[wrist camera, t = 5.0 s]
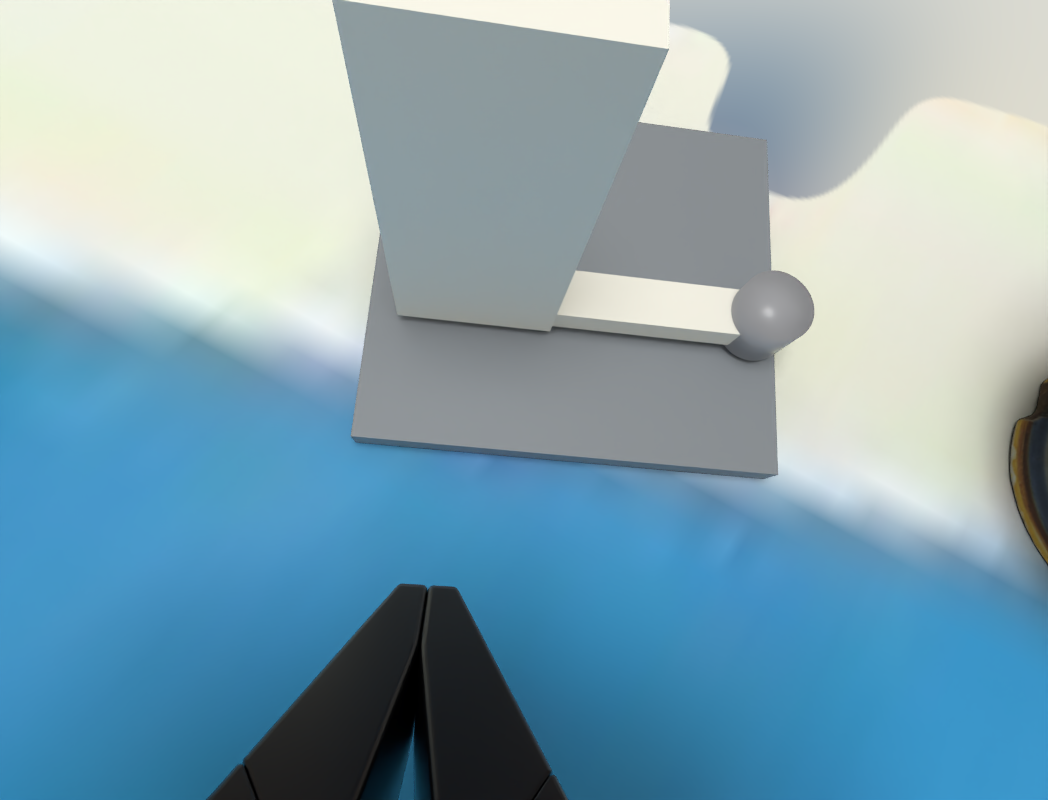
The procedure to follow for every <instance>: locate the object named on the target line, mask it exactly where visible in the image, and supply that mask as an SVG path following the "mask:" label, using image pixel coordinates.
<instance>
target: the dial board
mask: <svg viewBox="0 0 1048 800" xmlns="http://www.w3.org/2000/svg"><path fill="white" fill-rule="evenodd" d="M767 161H768V160H767V140H763V139H756V138H749V137H741V136H734V135H727V134H720V133H713V132H706V131H698V130H691V129H684V128H677V127H670V126H662V125H655V124H648V123H641V122H638V124H637V126H636V128H635V131H634V133H633V135H632V138H631V140H630V143H629V145H628V147H627V150H626V152H625V154H624V157H623V159H622V162H621V164H620V166H619V169H618V171H617V173H616V176H615V178H614V181H613V183H612V185H611V188H610V190H609V192H608V195H607V197H606V200H605V202H604V204H603V207H602V209H601V211H600V214H599V216H598V219H597V221H596V223H595V226H594V228H593V230H592V233H591V235H590V238H589V240H588V242H587V245H586V247H585V249H584V252H583V254H582V257H581V259H580V261H579V264H578V266H577V268H576V271H585V272H594V273H602V274H611V275H619V276H628V277H636V278H645V279H654V280H662V281H671V282H679V283H688V284H697V285H705V286H714V287H722V288H731V289H739V290H740V289H741V288H742V287H743V286H744V285H745V284H746V283H747V282H748V281H749V280H750V279H751V278H752V277H754V276H755V275H757V274H759V273H761V272H765V271H771V250H770V220H769V190H768V162H767ZM351 437H352V438H353V440H354V441H355V442H359V443H370V444H381V445H392V446H404V447H415V448H426V449H437V450H448V451H459V452H471V453H482V454H493V455H504V456H515V457H526V458H538V459H549V460H560V461H571V462H582V463H593V464H605V465H616V466H627V467H638V468H649V469H660V470H672V471H683V472H694V473H705V474H716V475H727V476H739V477H750V478H761V479H765V478H768V477H772V476H775V475H778V461H777V431H776V401H775V371H774V354H773V355H772V356H770V357H768V358H766V359H764V360H759V361H749V360H745V359H742V358H739V357H737V356H735V355H734V354H732V353H731V352H730V351H729V350H728V349H727V348H726V347H725V346H724V345H723V344H713V343H704V342H695V341H686V340H677V339H667V338H658V337H649V336H640V335H630V334H621V333H612V332H603V331H593V330H584V329H575V328H566V327H557V326H552V328H551V330H550V331H541V330H532V329H522V328H513V327H504V326H494V325H485V324H476V323H467V322H457V321H448V320H439V319H429V318H420V317H411V316H401V315H397V311H396V306H395V301H394V297H393V292H392V287H391V282H390V277H389V272H388V268H387V263H386V258H385V253H384V248H383V243H382V238H381V234H380V237H379V244H378V251H377V258H376V265H375V272H374V279H373V286H372V293H371V300H370V306H369V313H368V320H367V327H366V334H365V341H364V348H363V355H362V362H361V369H360V376H359V383H358V390H357V397H356V404H355V410H354V417H353V424H352V431H351Z"/></svg>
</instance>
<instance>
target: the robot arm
mask: <svg viewBox="0 0 1048 800" xmlns="http://www.w3.org/2000/svg"><path fill="white" fill-rule="evenodd" d="M414 722H415V726H414ZM413 729H414V753H413V758H414V800H568V798H567V797H566V795H565V793H564V791H563V789H562V787H561V785H560V783H559V781H558V779H557V777H556V776H555V775H552V769H551V767H550V766H549V764H548V762H547V760H546V758H545V756H544V754H543V752H542V750H541V748H540V746H539V744H538V742H537V741H536V739H535V737H534V735H533V733H532V731H531V729H530V727H529V725H528V723H527V721H526V719H525V717H524V716H523V714H522V712H521V710H520V708H519V706H518V704H517V702H516V700H515V698H514V696H513V694H512V692H511V691H510V689H509V687H508V685H507V683H506V681H505V679H504V677H503V675H502V673H501V671H500V669H499V667H498V666H497V664H496V662H495V660H494V658H493V656H492V654H491V652H490V650H489V648H488V646H487V644H486V642H485V641H484V639H483V637H482V635H481V633H480V631H479V629H478V627H477V625H476V623H475V621H474V619H473V617H472V616H471V614H470V612H469V610H468V608H467V606H466V604H465V602H464V600H463V598H462V596H461V594H460V593H459V591H458V590H457V588H455V587H448V586H431V587H429V589H428V592H427V587H426V586H425V585H416V584H400V585H398V586H397V587H396V588H395V589H394V590H393V591H392V592H391V593H390V595H389V596H388V597H387V598H386V599H385V600H384V601H383V602H382V604H381V605H380V606H379V607H378V608H377V609H376V610H375V612H374V613H373V614H372V615H371V616H370V617H369V618H368V619H367V621H366V622H365V623H364V624H363V625H362V626H361V627H360V628H359V630H358V631H357V632H356V633H355V634H354V635H353V636H352V637H351V639H350V640H349V641H348V642H347V643H346V644H345V645H344V646H343V648H342V649H341V650H340V651H339V652H338V653H337V654H336V655H335V657H334V658H333V659H332V660H331V661H330V662H329V663H328V664H327V666H326V667H325V668H324V669H323V670H322V671H321V672H320V674H319V675H318V676H317V677H316V678H315V679H314V680H313V681H312V683H311V684H310V685H309V686H308V687H307V688H306V689H305V690H304V692H303V693H302V694H301V695H300V696H299V697H298V698H297V699H296V701H295V702H294V703H293V704H292V705H291V706H290V707H289V708H288V710H287V711H286V712H285V713H284V714H283V715H282V716H281V717H280V719H279V720H278V721H277V722H276V723H275V724H274V725H273V726H272V728H271V729H270V730H269V731H268V732H267V733H266V734H265V736H264V737H263V738H262V739H261V740H260V741H259V742H258V743H257V745H256V746H255V747H254V748H253V749H252V750H251V751H250V752H249V754H248V755H247V756H246V757H245V758H244V759H243V762H242V763H243V765H242V764H238V765H237V766H236V767H235V768H234V769H233V770H232V771H231V773H230V774H229V775H228V776H227V777H226V778H225V779H224V780H223V782H222V783H221V784H220V785H219V786H218V787H217V788H216V790H215V791H214V792H213V793H212V794H211V795H210V796H209V797H208V798H207V799H206V800H398V797H399V793H400V789H401V785H402V780H403V776H404V772H405V768H406V764H407V760H408V756H409V751H410V746H411V741H412V736H413Z"/></svg>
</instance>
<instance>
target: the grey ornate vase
mask: <svg viewBox="0 0 1048 800" xmlns="http://www.w3.org/2000/svg"><path fill="white" fill-rule="evenodd" d="M1010 476H1011V481H1012V486H1013V490H1014V494H1015V498H1016V502H1017V506H1018V509H1019V512H1020V514H1021V517H1022V519H1023V521H1024V524H1025V526H1026V529H1027V531H1028V533H1029V535H1030V536H1031V538H1032V540H1033V542H1034V544H1035V546H1036V548H1037V549H1038V551H1039V552H1040V554H1041V555H1042V557H1043V558H1044V559H1045V561H1046V562H1047V563H1048V379H1046V380H1045V381H1044V382H1043V383H1042V384H1041V390H1040V395H1039V399H1038V404H1037V409H1036V411H1035V412H1034V413H1033V414H1032V415H1031V416H1028V417H1024V418H1021V419H1019V420H1018V421H1017V423H1016V426H1015V429H1014V433H1013V438H1012V444H1011V453H1010Z"/></svg>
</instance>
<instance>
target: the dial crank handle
mask: <svg viewBox="0 0 1048 800" xmlns="http://www.w3.org/2000/svg"><path fill="white" fill-rule="evenodd" d="M332 1H333V6H334V11H335V16H336V21H337V25H338V30H339V35H340V40H341V45H342V50H343V54H344V59H345V64H346V69H347V74H348V79H349V84H350V88H351V93H352V98H353V103H354V108H355V113H356V117H357V122H358V127H359V132H360V137H361V142H362V146H363V151H364V156H365V161H366V166H367V171H368V176H369V180H370V185H371V190H372V195H373V200H374V205H375V209H376V214H377V219H378V224H379V229H380V234H381V238H382V243H383V248H384V253H385V258H386V263H387V268H388V272H389V277H390V282H391V287H392V292H393V297H394V301H395V306H396V311H397V315H401V316H411V317H420V318H429V319H439V320H448V321H457V322H467V323H476V324H485V325H494V326H504V327H513V328H522V329H532V330H541V331H550V330H551V328H552V326H557V327H566V328H575V329H584V330H593V331H603V332H612V333H621V334H630V335H640V336H649V337H658V338H667V339H677V340H686V341H695V342H704V343H713V344H723V345H724V346H725V347H726V348H727V349H728V350H729V351H730V352H731V353H732V354H734V355H735V356H737V357H739V358H742V359H745V360H749V361H759V360H764V359H766V358H768V357H770V356H772V355H773V354H775V353H776V352H778V351H779V350H781V349H782V348H784V347H785V346H787V345H788V344H790V343H791V342H793V341H794V340H796V339H797V338H799V337H800V336H802V335H803V334H804V333H805V332H806V331H807V330H808V329H809V327H810V326H811V324H812V321H813V318H814V304H813V300H812V298H811V295H810V293H809V292H808V290H807V289H806V287H805V286H804V285H803V284H802V283H801V282H800V281H799V280H798V279H796V278H795V277H793V276H791V275H789V274H787V273H784V272H780V271H765V272H761V273H759V274H757V275H755V276H754V277H752V278H751V279H750V280H749V281H748V282H747V283H746V284H745V285H744V286H743V287H742V288H741V289H740V290H739V289H731V288H722V287H714V286H705V285H697V284H688V283H679V282H671V281H662V280H654V279H645V278H636V277H628V276H619V275H611V274H602V273H594V272H585V271H576V268H577V266H578V264H579V261H580V259H581V257H582V254H583V252H584V249H585V247H586V245H587V242H588V240H589V238H590V235H591V233H592V230H593V228H594V226H595V223H596V221H597V219H598V216H599V214H600V211H601V209H602V207H603V204H604V202H605V200H606V197H607V195H608V192H609V190H610V188H611V185H612V183H613V181H614V178H615V176H616V173H617V171H618V169H619V166H620V164H621V162H622V159H623V157H624V154H625V152H626V150H627V147H628V145H629V143H630V140H631V138H632V135H633V133H634V131H635V128H636V126H637V124H638V121H639V119H640V116H641V114H642V112H643V109H644V107H645V105H646V102H647V100H648V97H649V95H650V93H651V90H652V88H653V86H654V83H655V81H656V78H657V76H658V74H659V71H660V69H661V67H662V64H663V62H664V59H665V57H666V55H667V52H668V50H669V6H670V5H669V4H670V2H669V1H670V0H332Z"/></svg>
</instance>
